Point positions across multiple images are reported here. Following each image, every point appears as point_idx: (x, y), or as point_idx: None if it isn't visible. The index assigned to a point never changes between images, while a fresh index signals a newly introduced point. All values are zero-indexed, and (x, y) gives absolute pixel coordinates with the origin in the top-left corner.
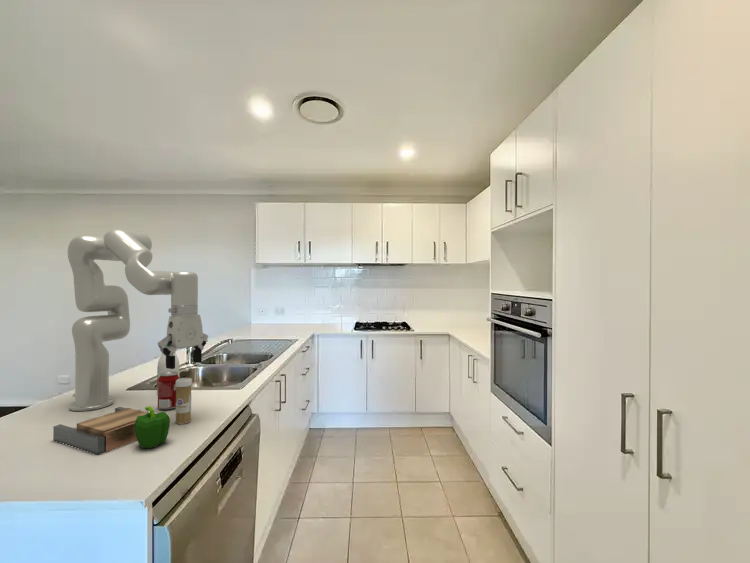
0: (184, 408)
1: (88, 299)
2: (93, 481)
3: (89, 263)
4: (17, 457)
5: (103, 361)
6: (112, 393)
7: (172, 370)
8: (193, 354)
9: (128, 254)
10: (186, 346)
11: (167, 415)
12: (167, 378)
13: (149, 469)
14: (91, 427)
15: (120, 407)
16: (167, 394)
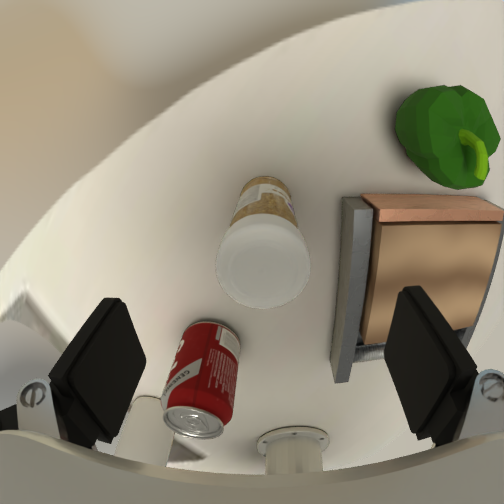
0: (279, 191)
1: None
2: None
3: None
4: (498, 312)
5: None
6: (231, 459)
7: (139, 445)
8: (126, 406)
9: None
10: (369, 486)
11: (444, 91)
12: (213, 405)
13: (477, 38)
14: (489, 274)
15: (339, 378)
16: (223, 359)
